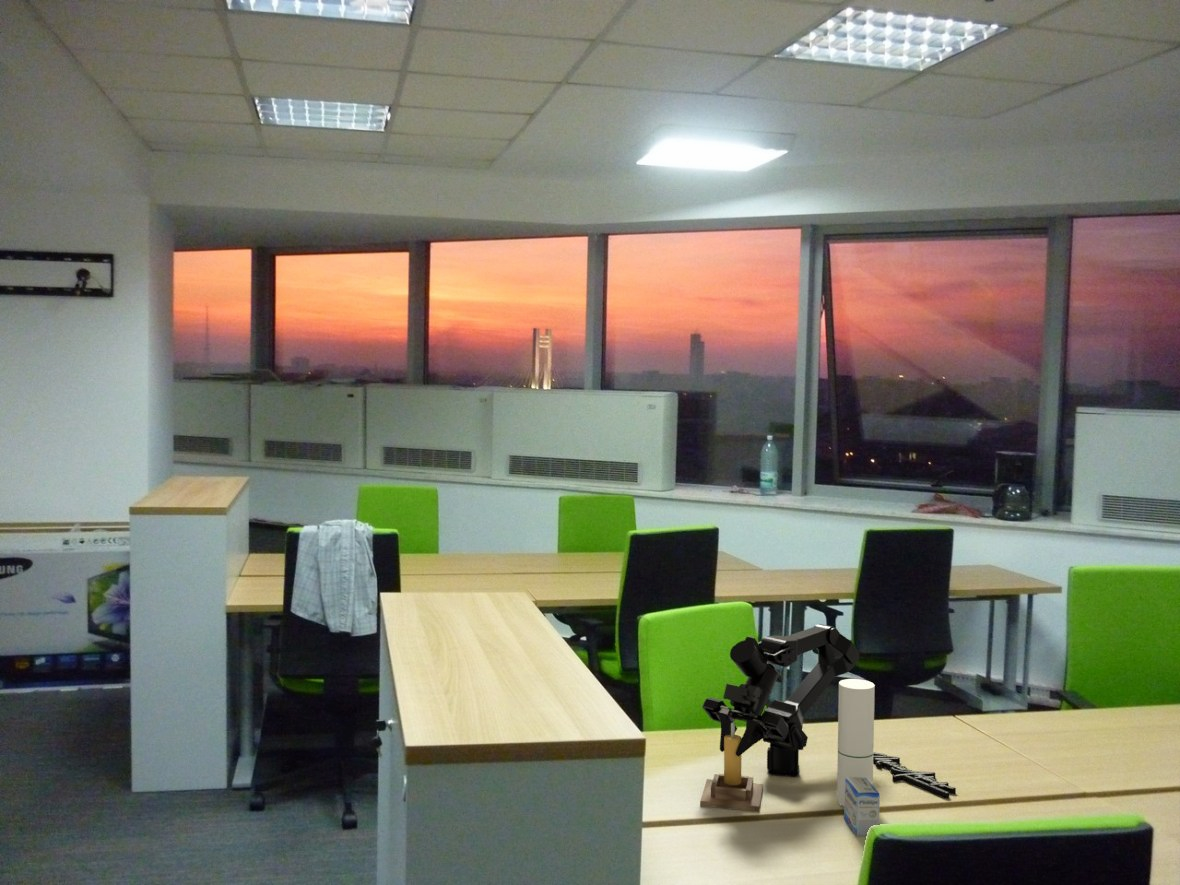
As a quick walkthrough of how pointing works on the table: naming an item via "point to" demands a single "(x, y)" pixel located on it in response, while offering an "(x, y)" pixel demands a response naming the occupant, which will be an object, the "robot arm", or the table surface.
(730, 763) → the yellow cylindrical piece
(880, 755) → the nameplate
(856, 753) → the cylindrical container
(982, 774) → the table surface
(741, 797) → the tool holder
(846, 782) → the medicine box
